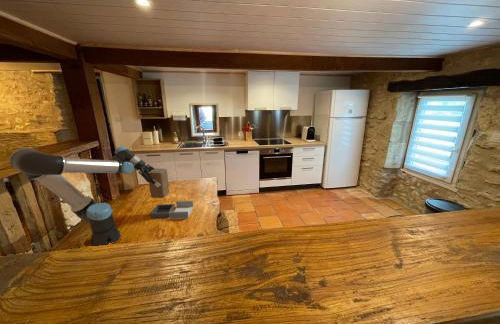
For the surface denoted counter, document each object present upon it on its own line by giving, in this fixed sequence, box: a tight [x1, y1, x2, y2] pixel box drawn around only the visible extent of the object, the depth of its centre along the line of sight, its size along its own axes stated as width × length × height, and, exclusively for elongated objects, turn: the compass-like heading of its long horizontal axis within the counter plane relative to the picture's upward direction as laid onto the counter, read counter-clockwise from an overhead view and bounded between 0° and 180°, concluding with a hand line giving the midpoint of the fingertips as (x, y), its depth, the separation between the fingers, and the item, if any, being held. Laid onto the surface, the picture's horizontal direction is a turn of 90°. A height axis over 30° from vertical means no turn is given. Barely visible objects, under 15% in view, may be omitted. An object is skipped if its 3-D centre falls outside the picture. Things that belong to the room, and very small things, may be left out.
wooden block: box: [148, 168, 170, 199], centre depth 149 cm, size 10×10×20 cm
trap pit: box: [150, 203, 176, 219], centre depth 155 cm, size 14×14×4 cm
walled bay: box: [170, 200, 194, 220], centre depth 156 cm, size 13×18×6 cm
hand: (162, 182), depth 149 cm, fingers closed on wooden block, 11 cm apart
